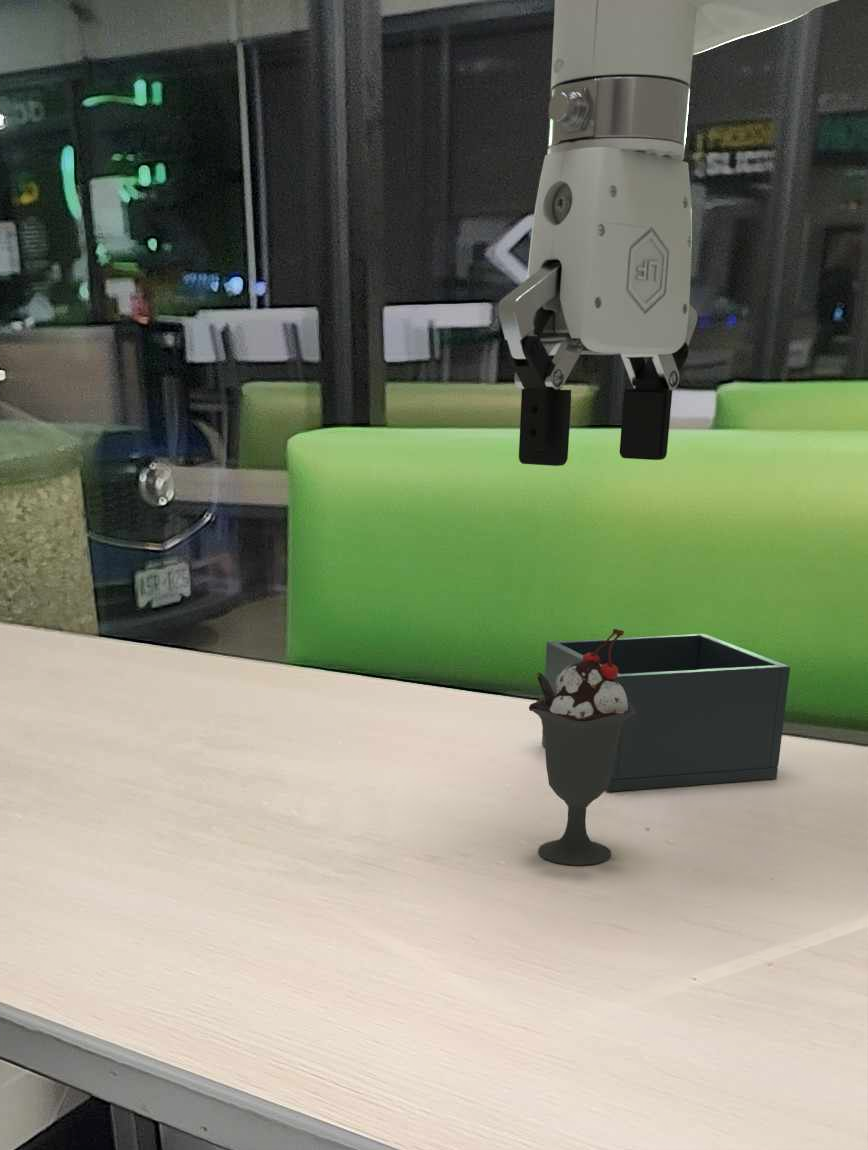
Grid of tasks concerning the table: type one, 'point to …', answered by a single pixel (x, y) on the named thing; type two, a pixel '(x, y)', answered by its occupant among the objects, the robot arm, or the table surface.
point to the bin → (688, 709)
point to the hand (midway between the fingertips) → (594, 461)
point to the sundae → (581, 747)
